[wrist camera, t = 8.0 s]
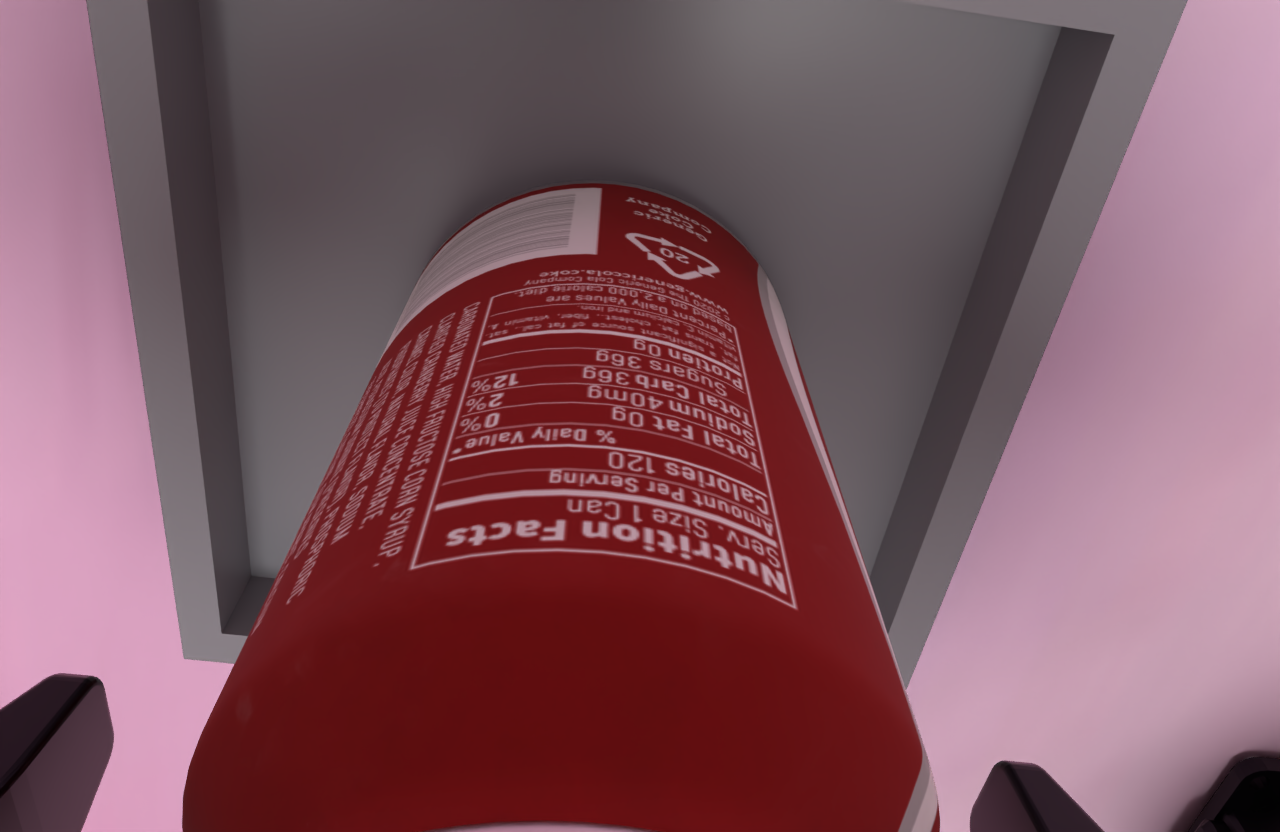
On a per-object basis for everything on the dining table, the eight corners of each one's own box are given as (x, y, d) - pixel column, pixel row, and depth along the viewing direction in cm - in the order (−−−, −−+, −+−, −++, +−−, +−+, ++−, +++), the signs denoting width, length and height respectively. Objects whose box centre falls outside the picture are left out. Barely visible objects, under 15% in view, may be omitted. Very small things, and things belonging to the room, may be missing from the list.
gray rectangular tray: (1114, -40, 15) (1195, -20, 13) (866, 639, 22) (891, 724, 20) (146, -198, 14) (56, -205, 11) (228, 575, 21) (184, 658, 19)
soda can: (347, 228, 16) (-145, 913, 6) (736, 116, 15) (961, 693, 5) (488, 531, 19) (332, 1300, 9) (813, 454, 19) (1041, 1211, 8)
